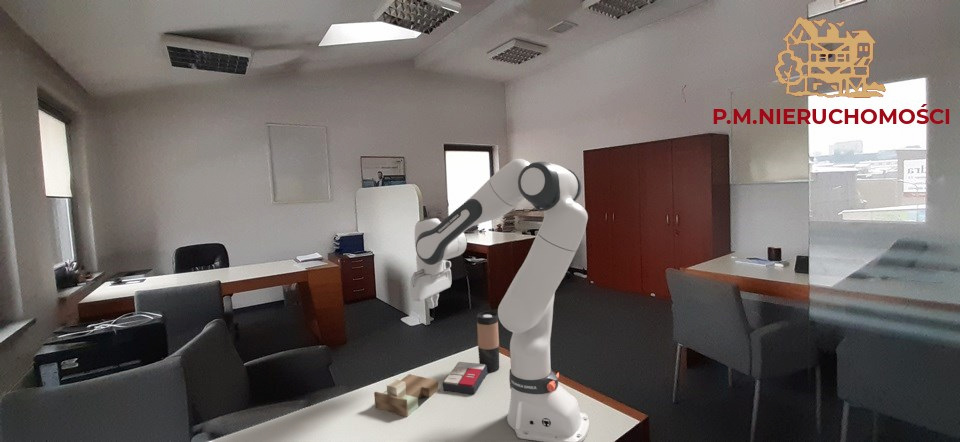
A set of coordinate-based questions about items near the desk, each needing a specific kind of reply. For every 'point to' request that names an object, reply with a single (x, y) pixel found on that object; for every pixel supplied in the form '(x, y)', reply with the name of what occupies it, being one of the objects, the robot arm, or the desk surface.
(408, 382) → the stacked wooden blocks
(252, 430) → the desk surface
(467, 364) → the red and grey box
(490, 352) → the travel mug
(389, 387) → the block
